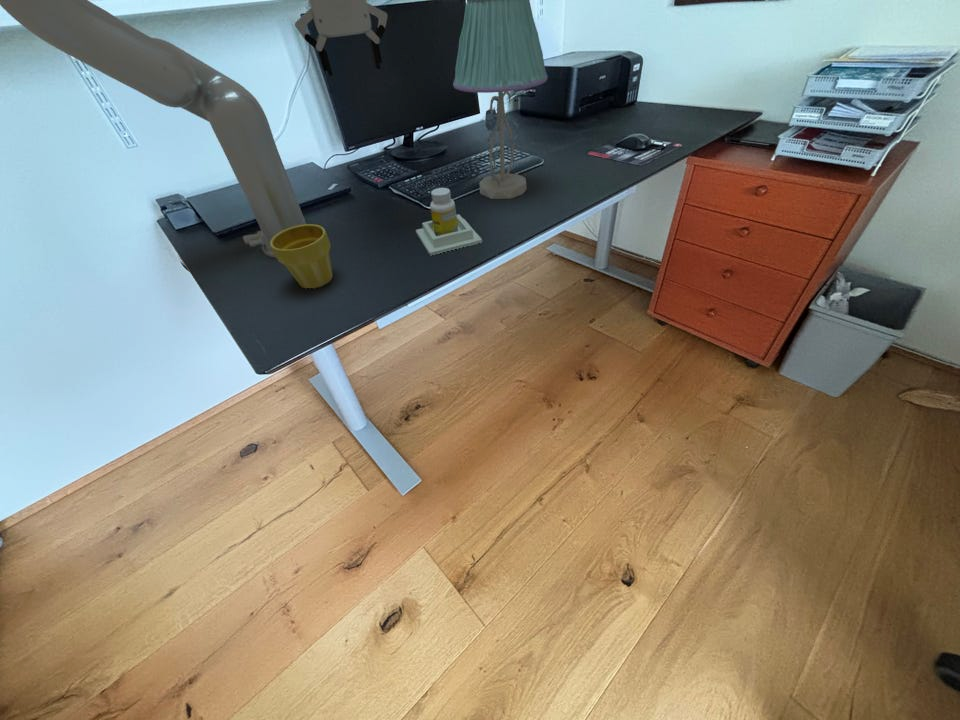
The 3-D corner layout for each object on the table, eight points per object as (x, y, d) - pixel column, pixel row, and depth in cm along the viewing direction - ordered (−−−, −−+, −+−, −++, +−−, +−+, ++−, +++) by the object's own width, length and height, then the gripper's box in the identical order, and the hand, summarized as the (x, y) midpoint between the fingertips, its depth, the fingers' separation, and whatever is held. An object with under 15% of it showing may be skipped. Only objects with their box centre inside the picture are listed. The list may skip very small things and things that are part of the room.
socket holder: (430, 256, 86) (428, 244, 84) (416, 233, 94) (414, 221, 93) (482, 242, 89) (481, 231, 87) (464, 221, 97) (462, 210, 95)
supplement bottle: (431, 232, 92) (424, 189, 86) (454, 227, 94) (449, 184, 87) (438, 242, 89) (432, 198, 82) (461, 237, 90) (457, 192, 83)
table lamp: (487, 171, 120) (478, -10, 93) (555, 180, 112) (567, -16, 84) (448, 199, 107) (423, -1, 80) (521, 212, 99) (522, -9, 71)
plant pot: (281, 295, 79) (259, 250, 72) (301, 267, 87) (282, 224, 80) (332, 294, 78) (314, 248, 71) (347, 266, 86) (332, 222, 79)
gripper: (274, -46, 65) (312, 80, 77) (379, -54, 69) (399, 68, 81) (273, -43, 70) (309, 75, 82) (371, -51, 74) (391, 63, 86)
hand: (354, 71), depth 82 cm, fingers open, 9 cm apart
